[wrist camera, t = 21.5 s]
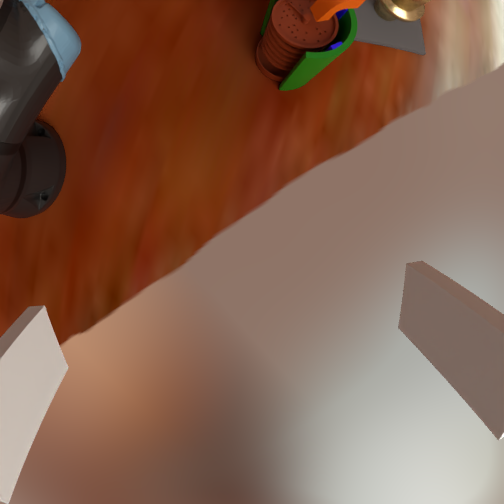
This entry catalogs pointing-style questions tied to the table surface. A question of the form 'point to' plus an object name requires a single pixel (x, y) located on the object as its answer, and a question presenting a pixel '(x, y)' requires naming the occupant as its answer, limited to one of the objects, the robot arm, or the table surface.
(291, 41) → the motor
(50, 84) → the robot arm
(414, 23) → the charcoal mat
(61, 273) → the table surface
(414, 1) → the brass flanged peg
